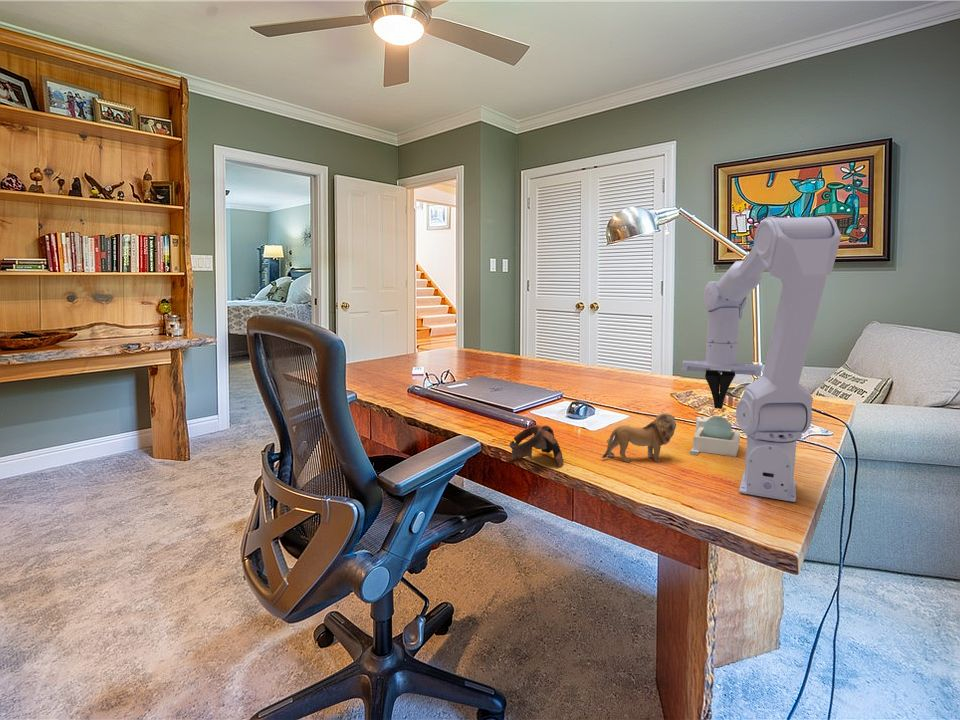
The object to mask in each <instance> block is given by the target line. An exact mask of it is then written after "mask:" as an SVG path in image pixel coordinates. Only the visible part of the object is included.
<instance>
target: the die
mask: <svg viewBox="0 0 960 720" xmlns="http://www.w3.org/2000/svg"><path fill="white" fill-rule="evenodd" d="M710 418H711V417H709V416H696V417H695V420H696V421H695V433H696V432H697V430H698V429H699V427H704V422H705V421H707V420H708V419H710Z"/></svg>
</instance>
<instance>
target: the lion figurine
mask: <svg viewBox="0 0 960 720" xmlns="http://www.w3.org/2000/svg"><path fill="white" fill-rule="evenodd" d="M655 417H656V419H654V420H653V421H651V422H650V423H649V424H647V425H646V426H644V427H634V426H633V427H632V426H629V425H619V426H617V427H615V428H613V430H612V432H611V434H610V437H609V438H608V439H609V442H607V443H608V444H607V448H606V451H605V453H604V454H603V455H602V456H601V458H602V459H606V458H607V457H615V453H614V452H612V451H613V450H614V449H615V448H616V447H618V446H619V448H620V449H619V455H620V457H621V458H622V460H623V462H626V463H630V462H631V459H630V457H627V456H626V450H627V448H628V446H629V443H631V444H632V445H634V446H639V447H647V457H649V458H654V461H655V462H658V463H661V462H662V460H663V459H662V458H660V453H661V447H662V446H663V445H665V446H666V445H668V443H670V441H671V439H672V438H673V436H674V434H675V430H676V427H677V423H676V421H675V420H676V419H675V418H676V417H675V416H674V415H673V414H670V413H668V412H667V413H665V412H663V413H660V414H658V415H656V416H655ZM614 436H615V437H614ZM613 438H614V440H613ZM612 440H613V441H612Z"/></svg>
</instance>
